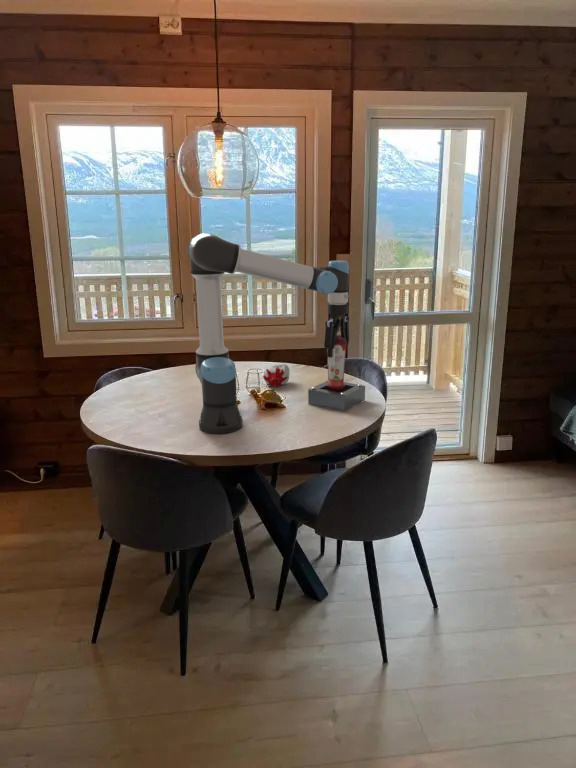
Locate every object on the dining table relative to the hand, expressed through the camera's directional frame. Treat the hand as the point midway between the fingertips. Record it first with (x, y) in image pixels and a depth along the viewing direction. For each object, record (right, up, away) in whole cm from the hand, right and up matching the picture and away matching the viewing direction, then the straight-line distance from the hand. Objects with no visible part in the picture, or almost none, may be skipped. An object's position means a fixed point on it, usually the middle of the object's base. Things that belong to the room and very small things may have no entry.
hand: (336, 363), depth 224 cm
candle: (-23, -9, +27) cm, 37 cm away
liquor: (0, -10, +3) cm, 10 cm away
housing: (+1, -15, +5) cm, 16 cm away
